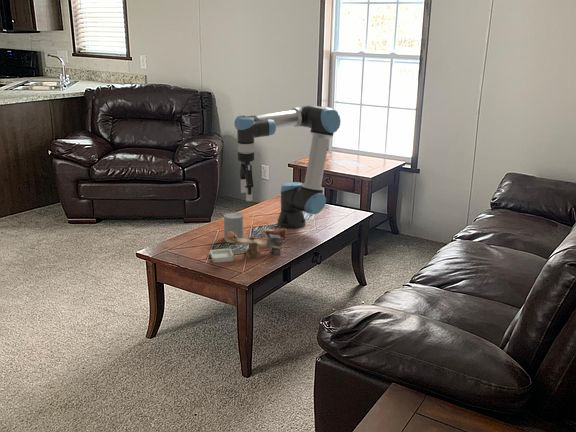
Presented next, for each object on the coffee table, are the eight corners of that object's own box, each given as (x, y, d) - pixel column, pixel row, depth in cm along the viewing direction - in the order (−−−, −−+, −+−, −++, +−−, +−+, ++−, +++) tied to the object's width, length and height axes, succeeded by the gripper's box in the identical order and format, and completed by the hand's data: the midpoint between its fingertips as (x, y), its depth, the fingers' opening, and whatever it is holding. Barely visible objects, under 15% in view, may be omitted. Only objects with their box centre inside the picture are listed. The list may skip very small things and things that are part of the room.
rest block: (277, 249, 282) (277, 244, 281) (280, 254, 276) (280, 249, 276) (271, 250, 281) (271, 245, 280) (274, 254, 276) (274, 250, 275)
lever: (277, 244, 281) (279, 235, 279) (280, 249, 276) (282, 239, 274) (224, 238, 272) (226, 228, 271) (226, 242, 267) (229, 232, 266)
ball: (233, 237, 272) (234, 230, 271) (235, 239, 269) (235, 232, 268) (226, 237, 271) (226, 230, 270) (227, 240, 268) (227, 233, 267)
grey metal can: (240, 242, 290) (239, 219, 286) (221, 241, 292) (221, 217, 288) (245, 236, 299) (245, 213, 295) (227, 234, 301) (226, 211, 297)
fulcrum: (257, 250, 280) (257, 236, 278) (261, 257, 273) (261, 242, 270) (245, 251, 279) (244, 237, 277) (248, 258, 271) (248, 243, 269)
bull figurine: (259, 243, 290) (259, 227, 287) (284, 239, 295) (284, 224, 292) (262, 246, 286) (262, 230, 283) (287, 242, 291) (287, 227, 288)
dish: (230, 252, 278) (230, 248, 278) (234, 260, 268) (234, 256, 268) (209, 254, 276) (209, 250, 275) (213, 262, 266) (213, 258, 265)
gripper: (233, 146, 276) (234, 189, 283) (242, 158, 254) (243, 205, 260) (248, 145, 278) (249, 188, 285) (259, 157, 255) (260, 203, 262)
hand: (246, 196), depth 273 cm, fingers open, 13 cm apart
